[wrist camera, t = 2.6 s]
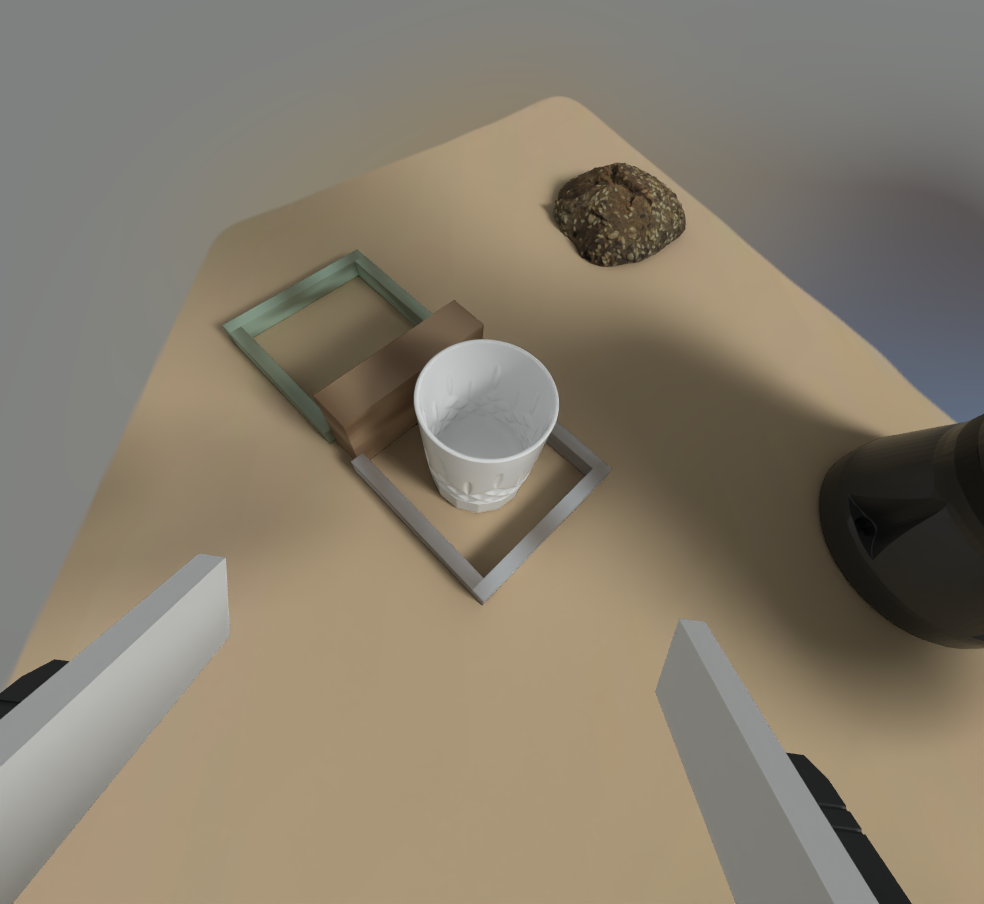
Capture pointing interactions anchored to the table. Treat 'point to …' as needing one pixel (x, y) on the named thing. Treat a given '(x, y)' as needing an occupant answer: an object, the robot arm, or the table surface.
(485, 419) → the white cup
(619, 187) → the bread roll
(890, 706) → the table surface
